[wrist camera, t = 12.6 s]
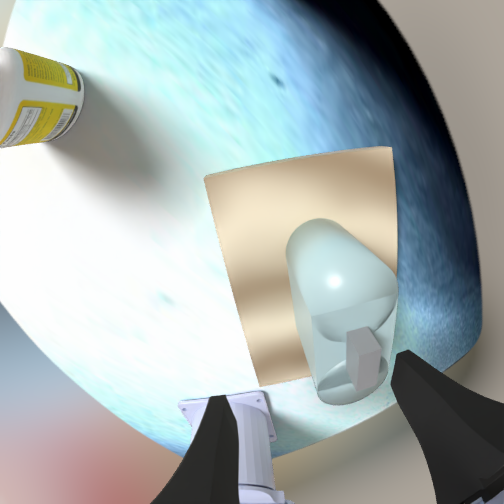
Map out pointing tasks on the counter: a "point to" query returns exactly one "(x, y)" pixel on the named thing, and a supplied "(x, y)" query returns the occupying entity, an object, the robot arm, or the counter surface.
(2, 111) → the supplement bottle
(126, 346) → the counter surface
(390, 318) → the grey capsule with tab
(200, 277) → the counter surface
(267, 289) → the cutting board
